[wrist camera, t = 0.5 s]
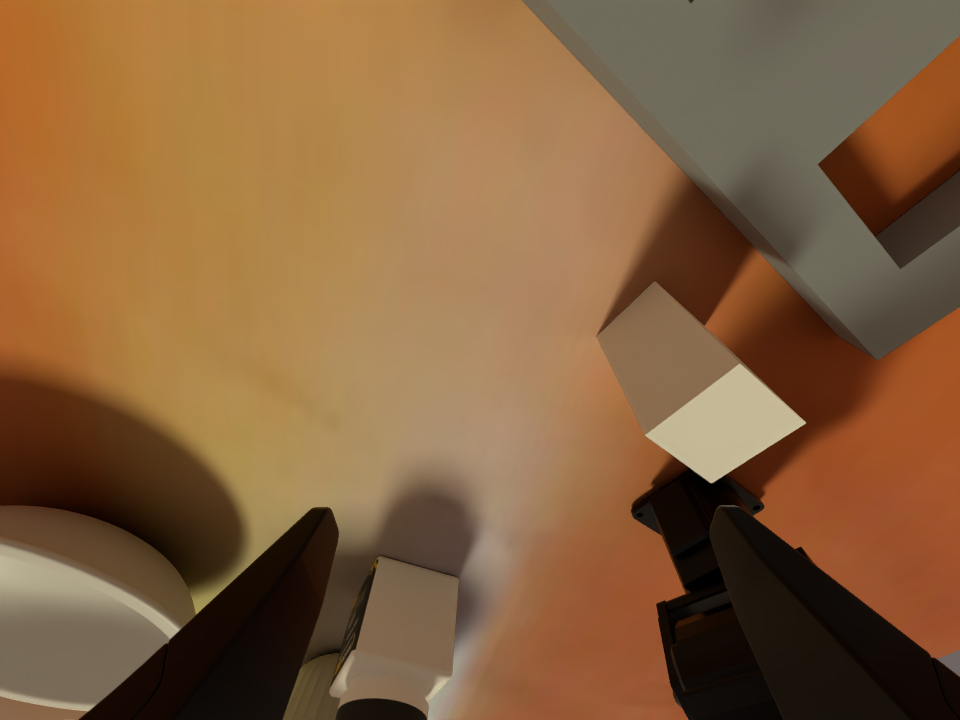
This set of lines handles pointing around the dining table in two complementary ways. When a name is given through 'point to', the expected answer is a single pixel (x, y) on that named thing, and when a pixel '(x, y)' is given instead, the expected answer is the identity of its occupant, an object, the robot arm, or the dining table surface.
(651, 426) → the plug
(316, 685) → the canister
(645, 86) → the socket board
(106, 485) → the dining table surface
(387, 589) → the medicine bottle
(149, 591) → the soup bowl
